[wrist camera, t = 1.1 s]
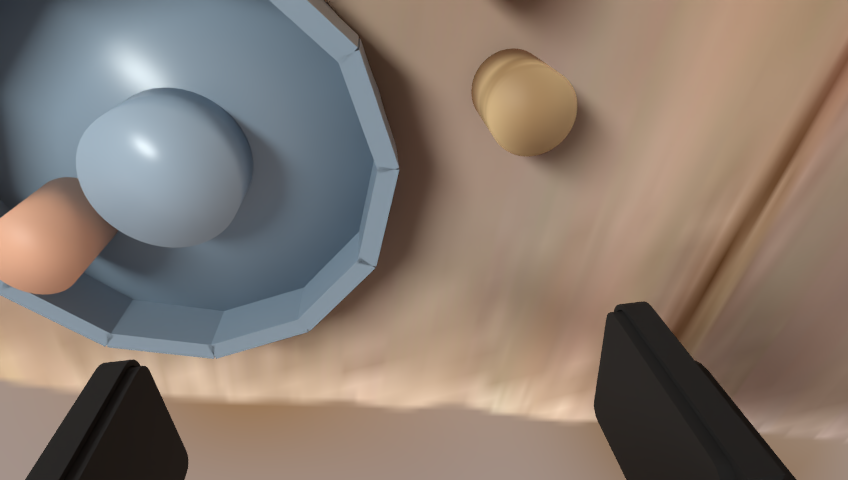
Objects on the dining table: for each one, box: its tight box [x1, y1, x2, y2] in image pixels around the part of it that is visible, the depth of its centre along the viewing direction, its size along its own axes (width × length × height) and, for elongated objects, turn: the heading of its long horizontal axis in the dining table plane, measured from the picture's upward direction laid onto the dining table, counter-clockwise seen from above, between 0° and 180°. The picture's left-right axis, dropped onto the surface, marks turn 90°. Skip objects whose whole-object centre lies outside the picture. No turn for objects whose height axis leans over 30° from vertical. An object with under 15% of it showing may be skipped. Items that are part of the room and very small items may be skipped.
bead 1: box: [0, 177, 118, 295], centre depth 25 cm, size 4×4×4 cm
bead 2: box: [472, 49, 577, 156], centre depth 25 cm, size 4×4×4 cm
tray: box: [0, 0, 399, 359], centre depth 25 cm, size 21×21×4 cm
